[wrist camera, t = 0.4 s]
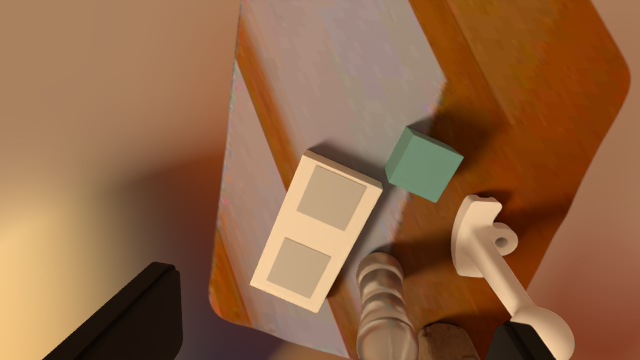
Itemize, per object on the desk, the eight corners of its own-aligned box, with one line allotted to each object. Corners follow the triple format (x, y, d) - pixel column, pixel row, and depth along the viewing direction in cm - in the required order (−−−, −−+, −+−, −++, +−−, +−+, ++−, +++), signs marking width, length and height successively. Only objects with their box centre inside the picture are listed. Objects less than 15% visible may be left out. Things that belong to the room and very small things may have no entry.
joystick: (458, 193, 41) (543, 295, 22) (519, 197, 40) (661, 306, 21) (446, 265, 44) (509, 405, 26) (501, 269, 44) (608, 417, 25)
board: (306, 149, 41) (302, 155, 38) (381, 182, 41) (382, 190, 39) (256, 272, 49) (249, 285, 46) (319, 299, 49) (316, 313, 46)
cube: (405, 126, 39) (413, 134, 33) (448, 145, 39) (464, 157, 33) (384, 167, 41) (388, 182, 35) (425, 185, 41) (435, 202, 35)
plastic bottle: (347, 267, 46) (339, 398, 28) (376, 237, 44) (389, 357, 26) (380, 291, 47) (394, 434, 28) (410, 263, 45) (447, 398, 26)
